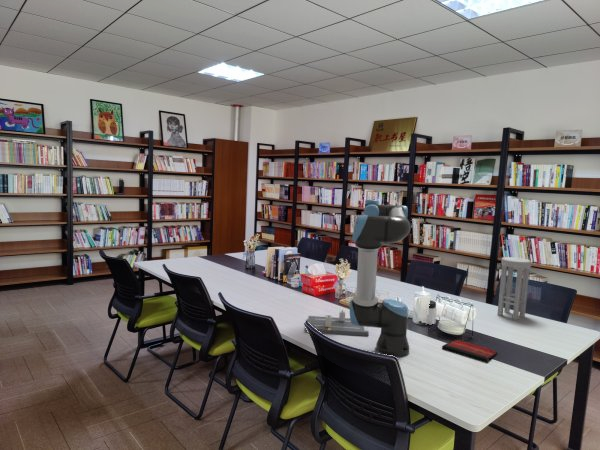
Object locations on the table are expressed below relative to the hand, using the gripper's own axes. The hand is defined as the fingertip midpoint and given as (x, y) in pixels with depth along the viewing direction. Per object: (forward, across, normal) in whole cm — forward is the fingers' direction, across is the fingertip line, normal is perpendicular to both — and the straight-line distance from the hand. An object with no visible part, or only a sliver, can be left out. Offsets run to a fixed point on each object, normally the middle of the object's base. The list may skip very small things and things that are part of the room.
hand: (368, 269), depth 233 cm
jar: (+30, -35, -4) cm, 46 cm away
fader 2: (+27, +13, +9) cm, 31 cm away
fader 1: (+27, +21, +19) cm, 39 cm away
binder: (+30, -47, +34) cm, 65 cm away
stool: (+30, -90, -27) cm, 99 cm away
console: (+29, +16, +14) cm, 36 cm away
